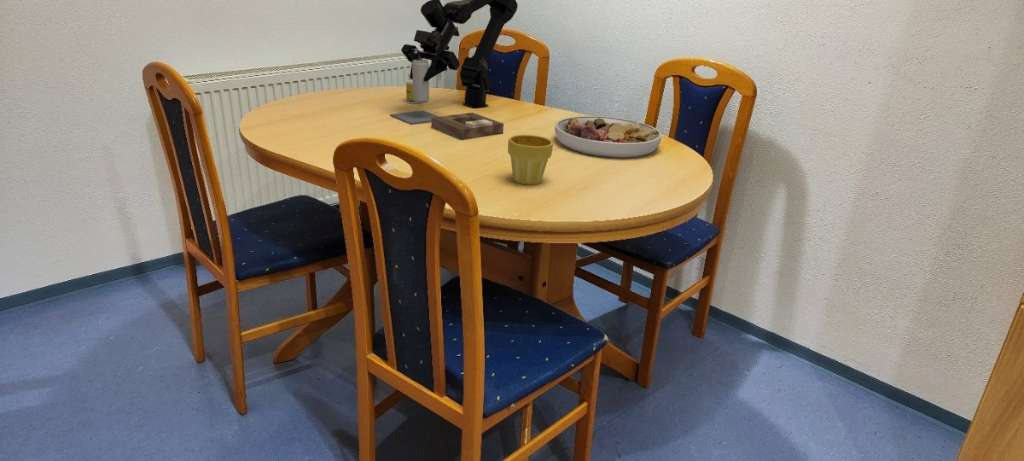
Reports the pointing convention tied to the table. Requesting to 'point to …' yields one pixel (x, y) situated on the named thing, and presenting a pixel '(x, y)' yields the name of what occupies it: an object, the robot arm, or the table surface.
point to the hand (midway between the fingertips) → (417, 79)
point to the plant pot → (529, 157)
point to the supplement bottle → (410, 91)
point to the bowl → (607, 136)
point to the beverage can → (420, 81)
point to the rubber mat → (414, 117)
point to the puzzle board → (467, 125)
